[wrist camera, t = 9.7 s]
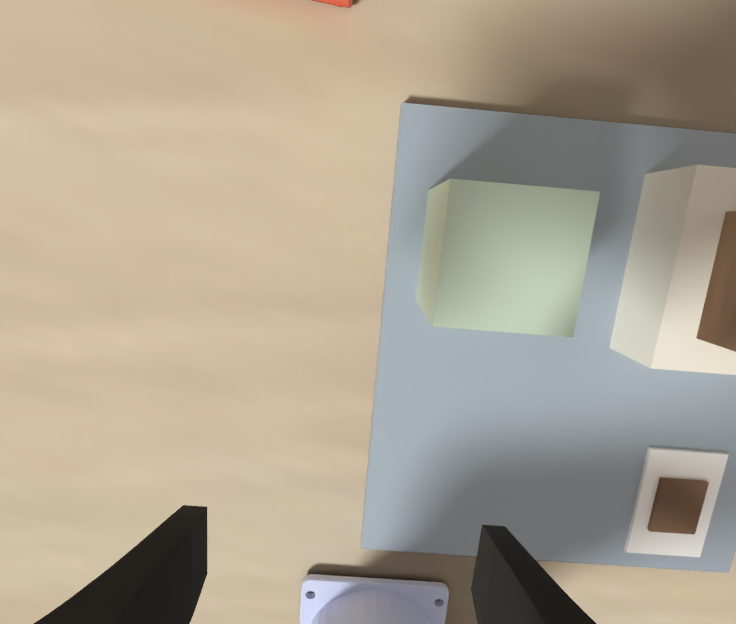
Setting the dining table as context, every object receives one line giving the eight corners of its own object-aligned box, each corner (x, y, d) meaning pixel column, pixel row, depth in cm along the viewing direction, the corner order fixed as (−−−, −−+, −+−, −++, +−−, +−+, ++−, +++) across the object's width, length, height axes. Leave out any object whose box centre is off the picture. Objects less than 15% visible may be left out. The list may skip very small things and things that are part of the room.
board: (721, 565, 23) (735, 578, 23) (361, 541, 23) (360, 554, 22) (843, 146, 19) (866, 142, 18) (400, 105, 18) (402, 99, 18)
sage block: (521, 309, 20) (572, 337, 15) (415, 301, 20) (432, 326, 15) (539, 200, 19) (600, 191, 14) (427, 190, 19) (450, 178, 14)
